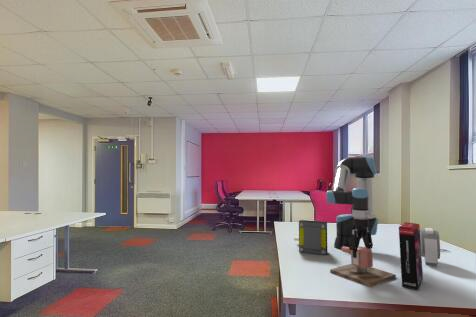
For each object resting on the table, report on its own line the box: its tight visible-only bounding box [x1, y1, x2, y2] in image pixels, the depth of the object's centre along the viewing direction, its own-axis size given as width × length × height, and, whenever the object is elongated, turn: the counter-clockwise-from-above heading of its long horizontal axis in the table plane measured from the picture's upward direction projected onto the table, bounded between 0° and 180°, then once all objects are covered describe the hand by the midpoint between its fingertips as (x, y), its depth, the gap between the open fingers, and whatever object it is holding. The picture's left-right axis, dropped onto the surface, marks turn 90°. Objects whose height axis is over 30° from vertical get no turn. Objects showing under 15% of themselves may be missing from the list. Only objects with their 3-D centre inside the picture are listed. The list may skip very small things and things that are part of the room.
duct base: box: [329, 263, 397, 288], centre depth 136 cm, size 22×22×10 cm
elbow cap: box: [341, 245, 374, 268], centre depth 139 cm, size 16×9×8 cm, turn 33°
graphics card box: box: [398, 221, 424, 291], centre depth 126 cm, size 17×7×27 cm, turn 139°
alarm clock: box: [420, 227, 441, 268], centre depth 156 cm, size 18×8×20 cm, turn 148°
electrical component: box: [298, 219, 328, 256], centre depth 178 cm, size 18×10×20 cm, turn 68°
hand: (361, 262), depth 136 cm, fingers closed on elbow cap, 9 cm apart
